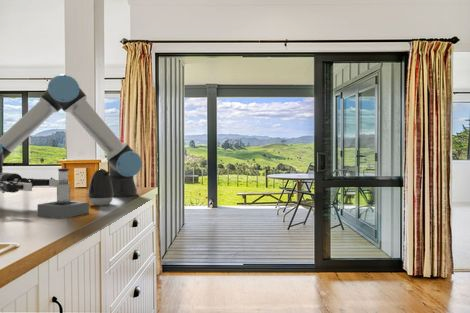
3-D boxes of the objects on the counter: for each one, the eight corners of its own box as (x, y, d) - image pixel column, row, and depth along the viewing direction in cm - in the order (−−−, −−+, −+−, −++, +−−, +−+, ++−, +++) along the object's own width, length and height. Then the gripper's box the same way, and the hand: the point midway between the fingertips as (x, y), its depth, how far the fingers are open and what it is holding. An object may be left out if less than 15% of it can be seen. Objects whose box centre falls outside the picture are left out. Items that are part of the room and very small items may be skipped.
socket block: (65, 210, 144) (65, 199, 144) (88, 212, 139) (88, 202, 139) (37, 215, 133) (37, 204, 133) (62, 218, 128) (62, 207, 128)
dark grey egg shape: (97, 207, 150) (97, 170, 150) (83, 205, 157) (83, 168, 156) (119, 204, 159) (119, 168, 158) (104, 202, 165) (104, 167, 164)
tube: (64, 212, 139) (63, 168, 139) (72, 213, 137) (72, 168, 137) (54, 214, 135) (53, 168, 135) (63, 215, 133) (62, 169, 133)
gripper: (36, 188, 159) (73, 191, 151) (-25, 196, 136) (16, 199, 128) (35, 171, 159) (73, 173, 151) (-25, 175, 136) (16, 178, 128)
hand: (47, 185), depth 139 cm, fingers open, 13 cm apart
